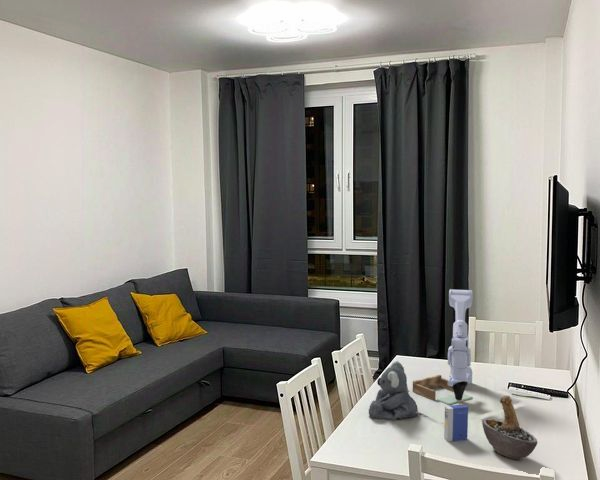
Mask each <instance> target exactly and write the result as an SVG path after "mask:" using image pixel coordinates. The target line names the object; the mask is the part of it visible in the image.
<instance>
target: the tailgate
mask: <svg viewBox="0 0 600 480" xmlns="http://www.w3.org/2000/svg"><path fill="white" fill-rule="evenodd" d="M472 399H473V396H471V395H469V394H466V393H463V397H462V400H457V399H456V398H455V394H454V393H453V394H451V395H447V396H443V397H439V398H437V399H436V401H437V402H440V403H442V404H445V405H446V406H452V405H456V404H459V403H461V402H464V401H469V400H472Z"/></svg>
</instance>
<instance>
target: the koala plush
mask: <svg viewBox="0 0 600 480" xmlns="http://www.w3.org/2000/svg"><path fill="white" fill-rule="evenodd" d="M407 381H408V379H407V375H406V372H405V367H404V366H403V364H402V363H401V362H400V361H399V360H397V361H394V362H391V365H390V366H389V367H388V368H387V369H386V370H385V371H384V372H383V373H382V375H381V376H380V377H378V379H377V382H376V383H377V385H378V386H379V387H380V389H379V390H377V391H378V392H377V393H376V397H375V400H372V401H371V402H370V404H369V408H368V415H369V417H372V418H374V419H381V420H391V421H397V419H400V420H402V419H405V418H414V417H415V416H416V415H417V413H418V409H419V408H418V405H417V403H416V401H415V399H414V398H413V396H411V395H410V393H409V391H408V392H407V388H406V386H407V387H408V383H407Z"/></svg>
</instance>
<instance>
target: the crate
mask: <svg viewBox="0 0 600 480" xmlns="http://www.w3.org/2000/svg"><path fill="white" fill-rule="evenodd" d="M448 380H449V379H446V378H443V377H442V375H441V374H437V375H433V376H430V377H429V376H428V377H425V378H421V379H417V380H412V392H413V393H414V394H417V395H420V396H422V397H424V398H427V399H429V400H431V401H435V400H436V398H437V397H436V395H437V394H436V390H434V388H438V387H440V388H442V389H445V390H448V391H451V392H453V393H454V390H453V388H452V386H448Z"/></svg>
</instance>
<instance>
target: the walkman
mask: <svg viewBox="0 0 600 480" xmlns="http://www.w3.org/2000/svg"><path fill="white" fill-rule="evenodd" d="M443 422H444V425H443V427H444V428H443V429H444V434H443V438H444V440H445V441H446V442H454V441H455V442H456V441H463V440H468V431H469V430H468V429H469V426H468V423H469V406H467V405H466V404H465V403H458V404H452V405H446V406H445V405H444V421H443Z"/></svg>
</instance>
